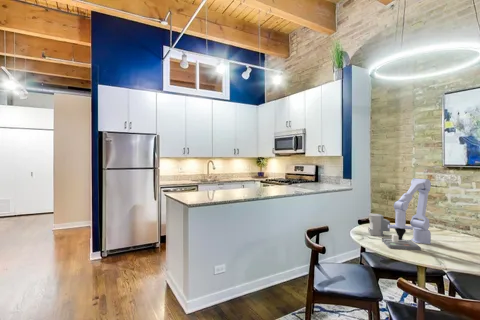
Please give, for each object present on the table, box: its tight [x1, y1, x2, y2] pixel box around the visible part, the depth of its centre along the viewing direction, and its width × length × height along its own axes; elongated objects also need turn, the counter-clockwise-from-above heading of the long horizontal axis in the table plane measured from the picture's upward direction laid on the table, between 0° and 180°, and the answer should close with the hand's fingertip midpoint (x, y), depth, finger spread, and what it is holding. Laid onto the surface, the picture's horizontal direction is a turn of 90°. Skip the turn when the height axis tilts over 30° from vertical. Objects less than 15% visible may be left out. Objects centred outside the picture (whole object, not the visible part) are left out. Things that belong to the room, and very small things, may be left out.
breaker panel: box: [381, 237, 422, 251], centre depth 170 cm, size 18×14×3 cm
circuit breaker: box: [367, 213, 391, 237], centre depth 193 cm, size 8×14×15 cm, turn 78°
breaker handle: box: [391, 233, 399, 242], centre depth 170 cm, size 3×3×5 cm
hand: (400, 239), depth 170 cm, fingers closed
